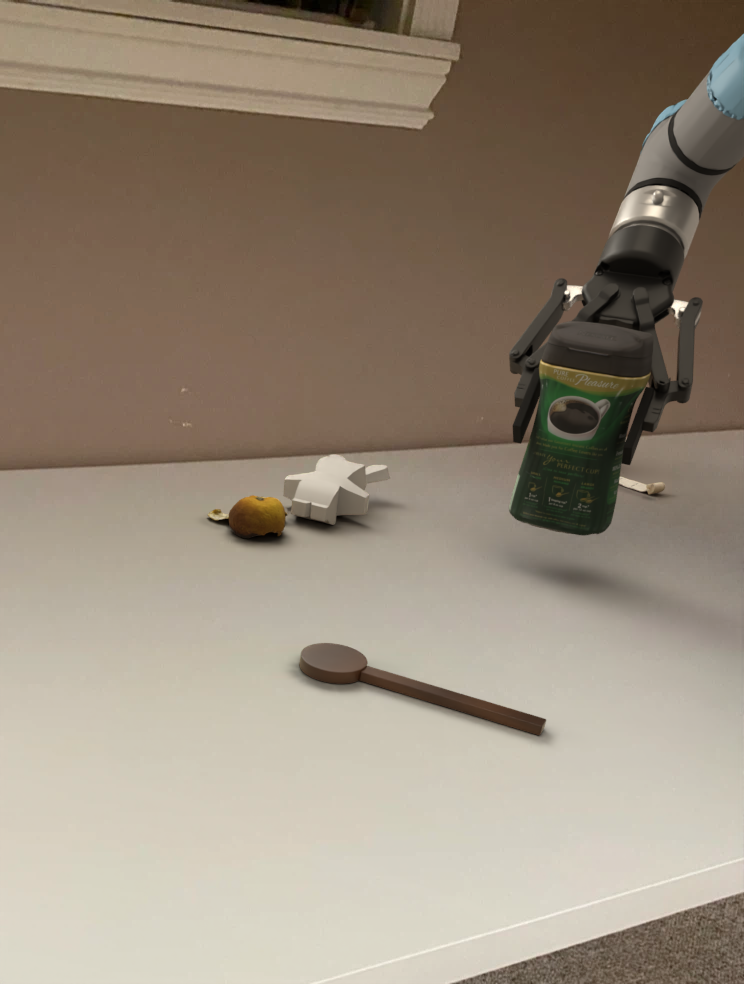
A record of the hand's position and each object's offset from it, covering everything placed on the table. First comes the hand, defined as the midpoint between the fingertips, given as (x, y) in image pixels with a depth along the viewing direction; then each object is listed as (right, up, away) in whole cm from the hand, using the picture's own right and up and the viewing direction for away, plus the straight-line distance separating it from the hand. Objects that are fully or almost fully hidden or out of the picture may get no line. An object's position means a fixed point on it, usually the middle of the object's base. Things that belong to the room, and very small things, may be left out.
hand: (570, 445), depth 101 cm
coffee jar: (+1, -6, +7) cm, 9 cm away
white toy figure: (-20, -2, +20) cm, 28 cm away
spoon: (-18, -23, -18) cm, 34 cm away
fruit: (-28, -5, +13) cm, 32 cm away
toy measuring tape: (+17, +7, +42) cm, 45 cm away
